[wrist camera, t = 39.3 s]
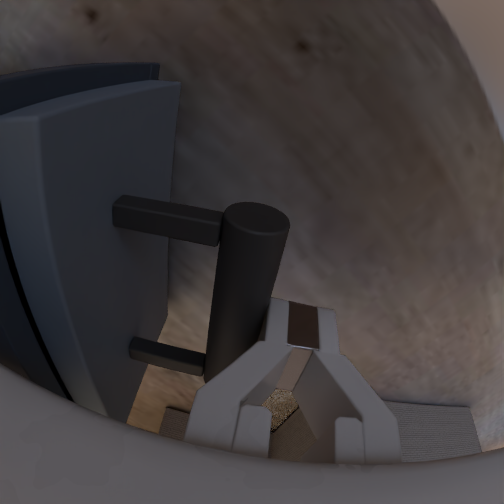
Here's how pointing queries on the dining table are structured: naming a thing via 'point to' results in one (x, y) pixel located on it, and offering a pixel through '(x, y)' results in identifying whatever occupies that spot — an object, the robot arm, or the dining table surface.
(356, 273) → the dining table surface
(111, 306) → the drawer
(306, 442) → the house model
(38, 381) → the cabinet
